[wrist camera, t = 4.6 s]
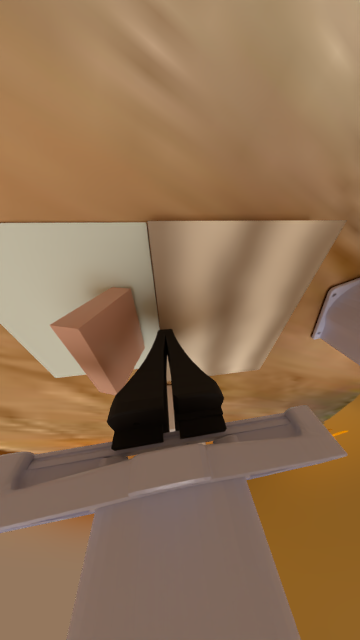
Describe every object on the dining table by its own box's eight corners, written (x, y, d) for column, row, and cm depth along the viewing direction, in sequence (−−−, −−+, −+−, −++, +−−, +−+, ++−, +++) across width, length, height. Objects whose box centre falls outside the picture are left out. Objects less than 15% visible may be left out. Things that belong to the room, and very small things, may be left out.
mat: (146, 222, 10) (146, 222, 10) (164, 363, 21) (164, 365, 20) (-92, 223, 9) (-102, 223, 8) (57, 375, 19) (55, 377, 19)
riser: (308, 221, 12) (346, 220, 9) (248, 354, 22) (259, 369, 20) (150, 222, 10) (147, 221, 8) (166, 363, 21) (166, 381, 18)
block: (78, 329, 7) (49, 325, 8) (118, 396, 12) (99, 391, 12) (130, 288, 12) (111, 287, 12) (144, 347, 17) (130, 345, 17)
